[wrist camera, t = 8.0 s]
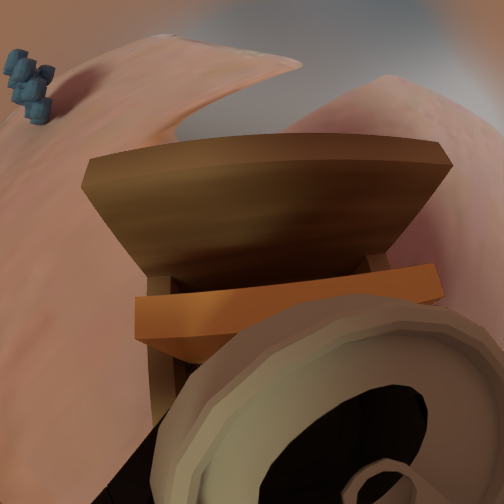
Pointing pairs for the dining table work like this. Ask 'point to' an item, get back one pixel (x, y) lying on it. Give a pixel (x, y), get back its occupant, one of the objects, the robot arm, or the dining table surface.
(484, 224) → the dining table surface
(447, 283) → the dining table surface
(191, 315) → the pusher
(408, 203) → the brown wooden crate
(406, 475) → the can
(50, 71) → the grapes
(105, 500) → the robot arm
